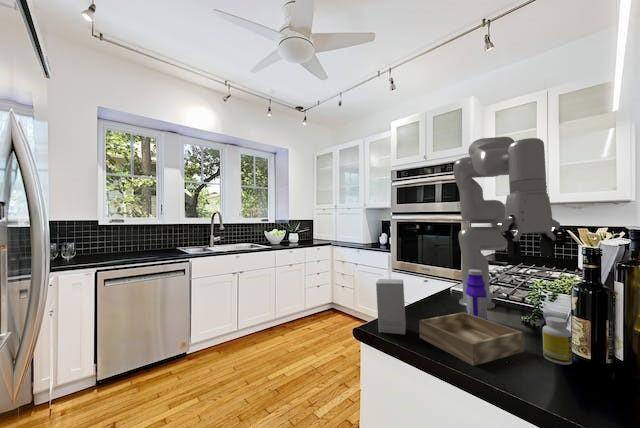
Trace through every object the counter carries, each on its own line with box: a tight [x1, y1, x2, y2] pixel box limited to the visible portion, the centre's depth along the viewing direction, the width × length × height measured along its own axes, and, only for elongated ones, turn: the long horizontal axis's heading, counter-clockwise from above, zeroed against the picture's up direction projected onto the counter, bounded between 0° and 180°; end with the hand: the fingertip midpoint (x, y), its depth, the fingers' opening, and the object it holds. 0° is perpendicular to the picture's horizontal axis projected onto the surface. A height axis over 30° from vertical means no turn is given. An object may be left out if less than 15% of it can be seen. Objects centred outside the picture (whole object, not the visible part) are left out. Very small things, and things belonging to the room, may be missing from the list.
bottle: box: [466, 270, 488, 320], centre depth 94 cm, size 7×6×17 cm
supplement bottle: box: [542, 316, 573, 366], centre depth 68 cm, size 5×5×10 cm
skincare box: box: [375, 278, 407, 335], centre depth 88 cm, size 8×7×16 cm
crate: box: [418, 311, 525, 367], centre depth 77 cm, size 18×18×5 cm
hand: (531, 256), depth 70 cm, fingers open, 9 cm apart
